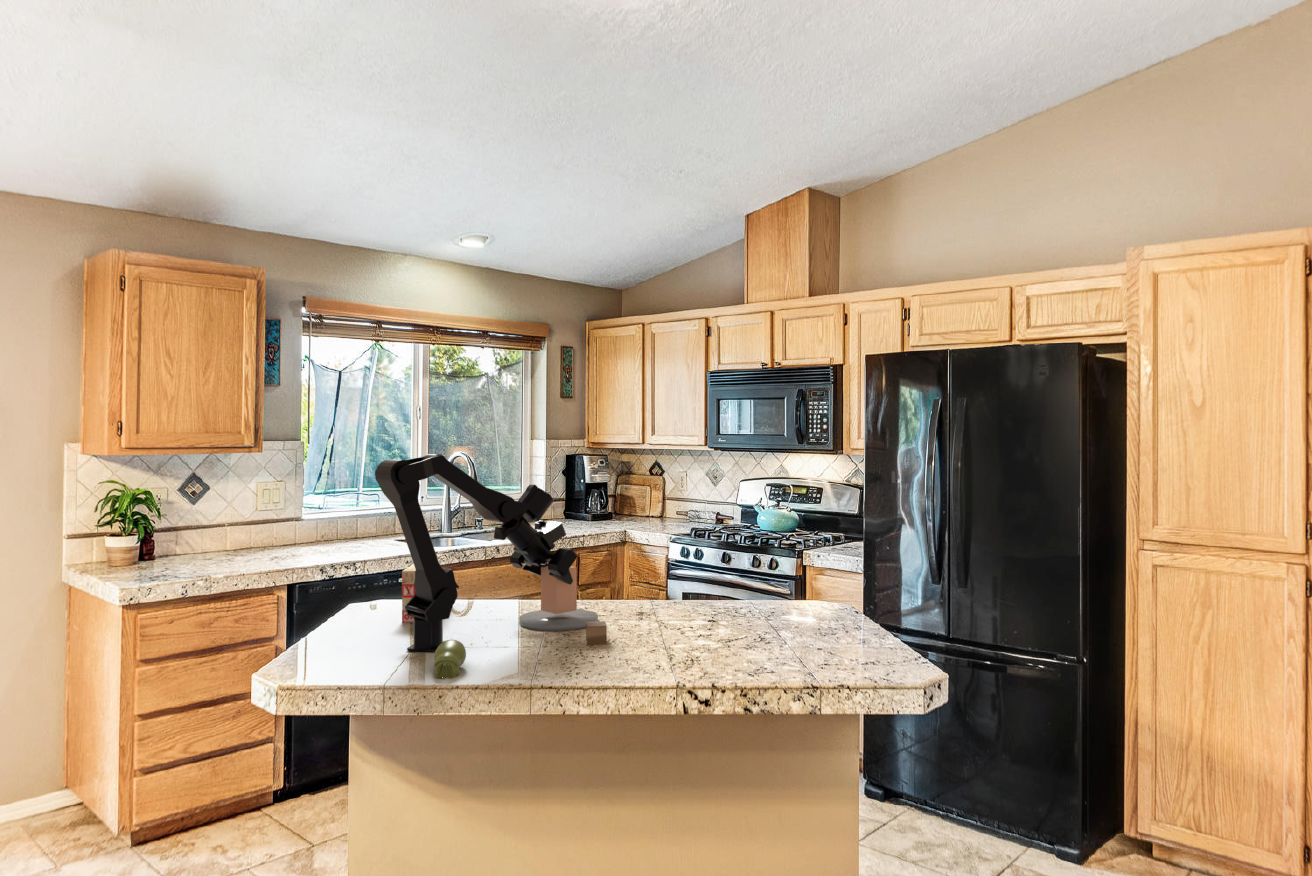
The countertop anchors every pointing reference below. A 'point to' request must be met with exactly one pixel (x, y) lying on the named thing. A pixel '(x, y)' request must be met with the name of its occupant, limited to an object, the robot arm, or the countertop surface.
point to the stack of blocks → (408, 590)
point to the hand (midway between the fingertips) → (563, 581)
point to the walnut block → (596, 633)
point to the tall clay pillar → (558, 592)
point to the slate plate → (557, 620)
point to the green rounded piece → (449, 659)
